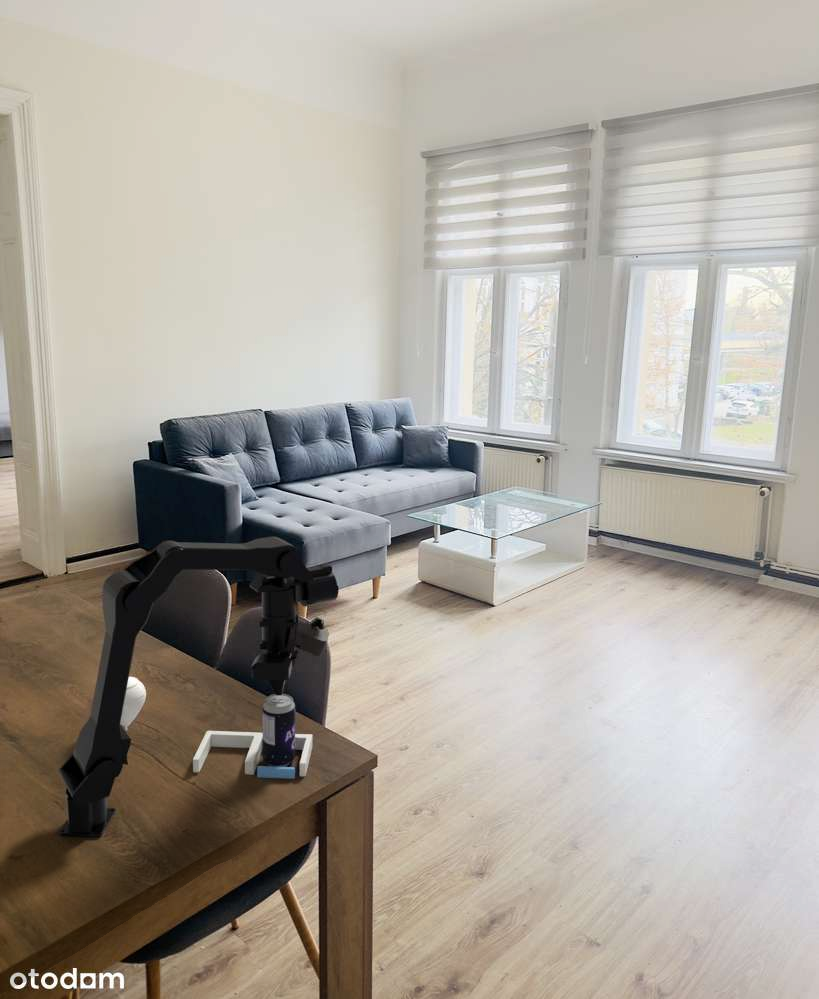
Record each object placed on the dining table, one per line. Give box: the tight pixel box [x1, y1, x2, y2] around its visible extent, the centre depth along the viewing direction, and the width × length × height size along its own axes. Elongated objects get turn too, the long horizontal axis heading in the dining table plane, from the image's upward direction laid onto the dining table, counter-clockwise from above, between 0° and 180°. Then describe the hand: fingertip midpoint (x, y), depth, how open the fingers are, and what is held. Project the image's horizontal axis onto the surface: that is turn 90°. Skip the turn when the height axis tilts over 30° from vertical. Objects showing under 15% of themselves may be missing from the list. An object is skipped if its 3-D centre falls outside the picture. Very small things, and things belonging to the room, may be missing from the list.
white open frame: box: [192, 730, 313, 780], centre depth 142 cm, size 10×20×2 cm, turn 90°
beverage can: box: [262, 693, 296, 767], centre depth 141 cm, size 6×6×12 cm
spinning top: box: [120, 676, 147, 732], centre depth 149 cm, size 8×8×12 cm
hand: (279, 694), depth 139 cm, fingers closed
